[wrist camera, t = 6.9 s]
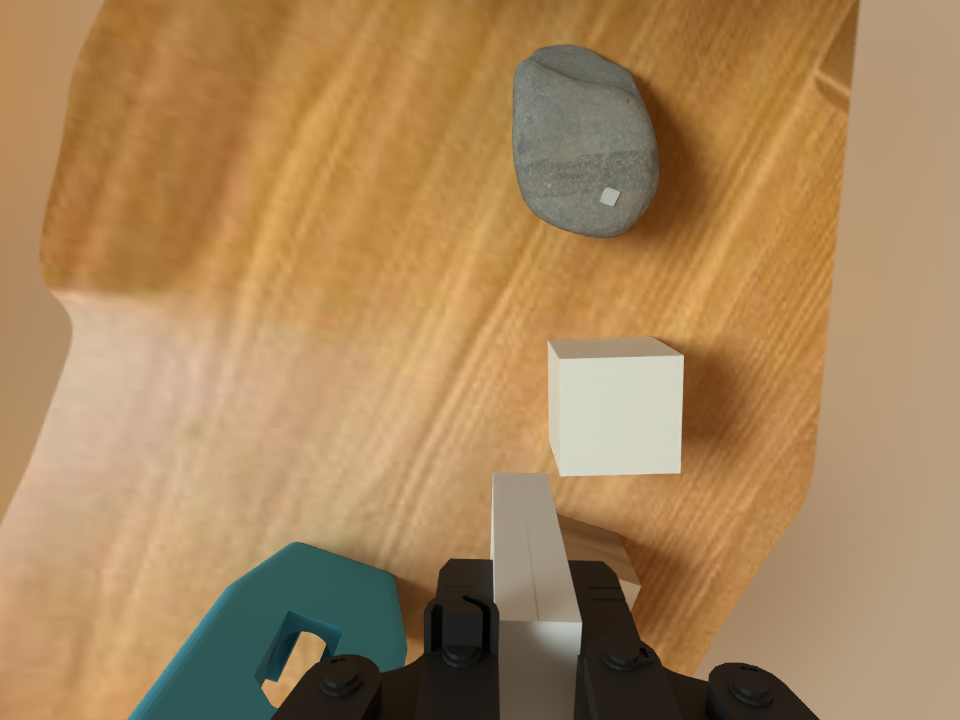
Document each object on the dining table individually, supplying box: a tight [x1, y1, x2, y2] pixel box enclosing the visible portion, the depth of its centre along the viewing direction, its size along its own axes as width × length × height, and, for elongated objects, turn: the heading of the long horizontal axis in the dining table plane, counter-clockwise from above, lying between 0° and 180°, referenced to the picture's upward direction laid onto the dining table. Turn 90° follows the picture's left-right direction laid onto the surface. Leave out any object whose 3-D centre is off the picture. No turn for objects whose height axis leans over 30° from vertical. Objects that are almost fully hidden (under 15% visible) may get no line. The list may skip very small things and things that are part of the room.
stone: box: [512, 45, 659, 238], centre depth 37 cm, size 9×9×10 cm
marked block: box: [557, 515, 641, 612], centre depth 42 cm, size 7×7×7 cm
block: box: [127, 542, 407, 720], centre depth 36 cm, size 12×5×20 cm, turn 70°
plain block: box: [548, 337, 684, 476], centre depth 39 cm, size 7×7×7 cm
